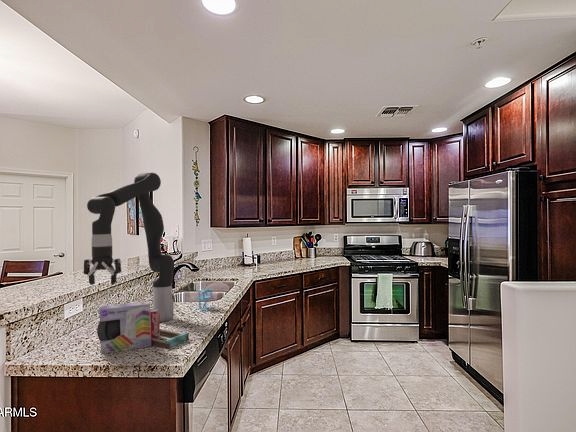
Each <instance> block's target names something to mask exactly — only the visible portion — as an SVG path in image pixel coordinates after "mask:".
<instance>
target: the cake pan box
mask: <svg viewBox="0 0 576 432" xmlns="http://www.w3.org/2000/svg"><path fill="white" fill-rule="evenodd" d="M150 309H151V302H150V301H149V300H148V301H142V302H139V301H138V302H129V303H128V302H127V303H117V304H109V305H101V306H100V308H99V314H98V315H99V321H98V322H99V323H98V325H97V329H96V330H97V331H96V332H97V338H98V340H99V341H100V354H104V353H113V352H121V351H128V350H133V349H134V350H135V349H136V350H137V349H140V348H141V349H142V348H146V347H147V348H148V347H151V346H152V345H151V318H150Z"/></svg>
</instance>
